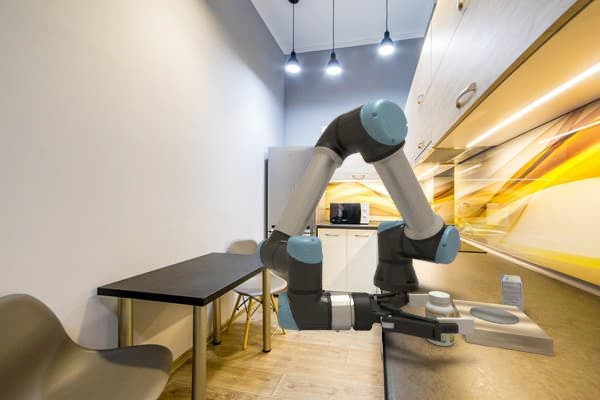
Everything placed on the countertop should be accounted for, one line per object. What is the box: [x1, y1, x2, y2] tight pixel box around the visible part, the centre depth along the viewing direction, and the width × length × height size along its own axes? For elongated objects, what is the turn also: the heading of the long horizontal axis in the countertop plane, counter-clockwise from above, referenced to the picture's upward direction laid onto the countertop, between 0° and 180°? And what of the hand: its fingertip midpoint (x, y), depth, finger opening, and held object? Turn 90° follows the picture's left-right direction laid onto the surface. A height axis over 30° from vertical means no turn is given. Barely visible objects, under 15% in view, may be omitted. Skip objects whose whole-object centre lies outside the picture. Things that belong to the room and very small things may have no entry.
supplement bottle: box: [424, 290, 455, 347], centre depth 56 cm, size 5×5×10 cm
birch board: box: [451, 299, 555, 357], centre depth 61 cm, size 18×14×3 cm
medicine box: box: [500, 274, 525, 314], centre depth 72 cm, size 8×4×9 cm, turn 143°
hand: (453, 311), depth 56 cm, fingers open, 13 cm apart
